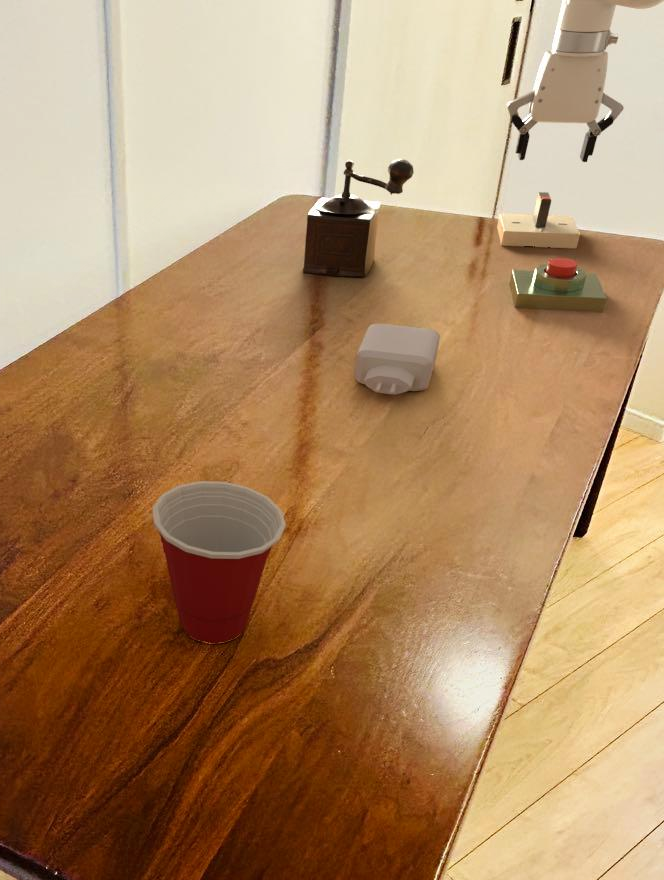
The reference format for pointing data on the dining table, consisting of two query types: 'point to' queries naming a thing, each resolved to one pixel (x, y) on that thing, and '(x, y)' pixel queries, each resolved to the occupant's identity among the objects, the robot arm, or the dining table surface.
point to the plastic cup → (216, 553)
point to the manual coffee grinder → (348, 226)
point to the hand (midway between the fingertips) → (551, 159)
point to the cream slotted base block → (538, 231)
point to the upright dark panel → (542, 209)
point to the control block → (557, 291)
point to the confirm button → (561, 267)
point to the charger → (396, 358)
